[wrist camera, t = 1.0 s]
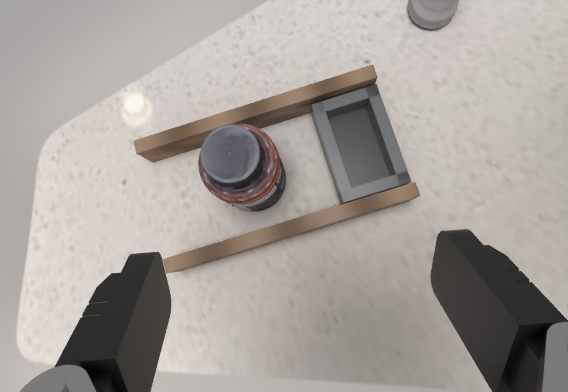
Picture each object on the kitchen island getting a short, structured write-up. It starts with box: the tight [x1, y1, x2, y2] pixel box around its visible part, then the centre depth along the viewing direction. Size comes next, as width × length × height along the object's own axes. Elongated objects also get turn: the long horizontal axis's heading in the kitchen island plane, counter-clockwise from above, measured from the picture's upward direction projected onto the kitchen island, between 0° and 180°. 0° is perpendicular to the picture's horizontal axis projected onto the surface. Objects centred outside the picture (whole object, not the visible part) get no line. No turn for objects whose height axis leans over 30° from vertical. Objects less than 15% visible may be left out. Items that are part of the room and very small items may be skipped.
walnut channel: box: [134, 65, 420, 273], centre depth 34 cm, size 22×12×4 cm, turn 107°
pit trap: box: [311, 84, 411, 205], centre depth 35 cm, size 6×9×2 cm, turn 17°
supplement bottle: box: [198, 123, 286, 211], centre depth 31 cm, size 6×6×11 cm
